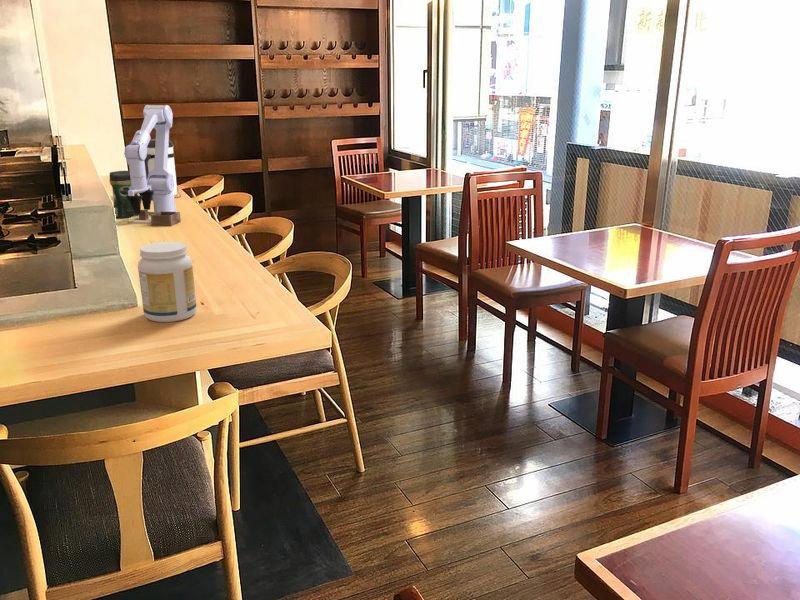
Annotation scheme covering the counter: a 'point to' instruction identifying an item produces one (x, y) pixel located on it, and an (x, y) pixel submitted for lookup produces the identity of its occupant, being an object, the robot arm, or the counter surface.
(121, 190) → the coffee jar
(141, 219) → the lid
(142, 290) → the supplement tub
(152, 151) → the coffee press
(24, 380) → the counter surface
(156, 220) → the box
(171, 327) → the counter surface
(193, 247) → the counter surface
